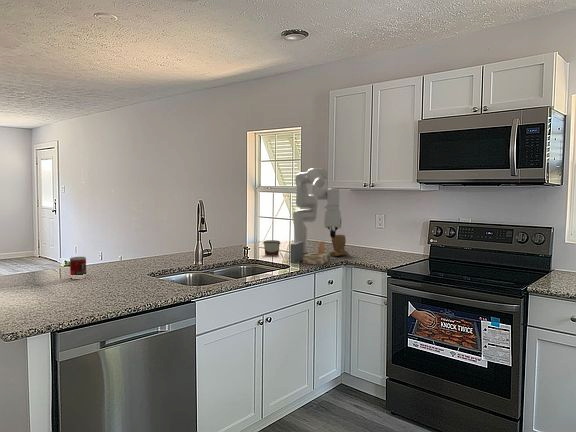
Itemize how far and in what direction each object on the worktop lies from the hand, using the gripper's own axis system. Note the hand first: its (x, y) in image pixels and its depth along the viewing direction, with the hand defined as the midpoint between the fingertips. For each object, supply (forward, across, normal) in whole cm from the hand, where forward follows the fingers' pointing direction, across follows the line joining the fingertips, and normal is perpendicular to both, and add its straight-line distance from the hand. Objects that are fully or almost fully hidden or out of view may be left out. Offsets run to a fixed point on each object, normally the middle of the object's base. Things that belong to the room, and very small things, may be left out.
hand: (332, 237), depth 280 cm
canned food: (+17, -108, -99) cm, 147 cm away
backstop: (+17, -25, 0) cm, 30 cm away
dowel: (+17, -12, +12) cm, 24 cm away
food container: (+17, -51, +17) cm, 57 cm away
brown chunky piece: (+17, -8, +35) cm, 40 cm away
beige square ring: (+17, -12, 0) cm, 21 cm away
